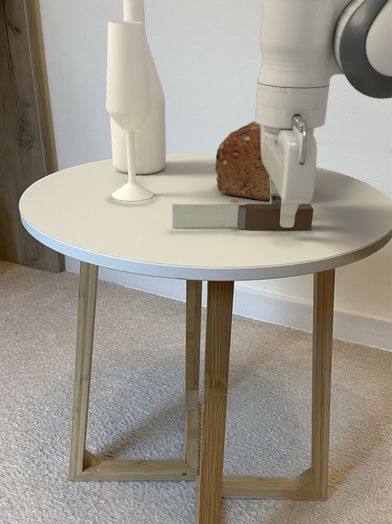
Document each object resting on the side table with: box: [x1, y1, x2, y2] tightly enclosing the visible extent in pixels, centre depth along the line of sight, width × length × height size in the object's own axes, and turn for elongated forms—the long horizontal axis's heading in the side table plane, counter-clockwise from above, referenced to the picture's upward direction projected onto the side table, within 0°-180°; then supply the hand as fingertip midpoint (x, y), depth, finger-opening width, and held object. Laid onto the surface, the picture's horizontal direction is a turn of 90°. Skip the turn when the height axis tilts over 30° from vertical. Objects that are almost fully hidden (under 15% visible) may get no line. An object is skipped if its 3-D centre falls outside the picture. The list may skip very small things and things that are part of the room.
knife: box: [171, 203, 315, 231], centre depth 82 cm, size 19×2×3 cm, turn 92°
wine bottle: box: [109, 0, 167, 175], centre depth 101 cm, size 10×10×30 cm
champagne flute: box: [105, 20, 155, 202], centre depth 89 cm, size 7×7×24 cm
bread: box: [214, 120, 271, 201], centre depth 98 cm, size 19×11×10 cm, turn 155°
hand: (281, 215), depth 82 cm, fingers open, 7 cm apart
